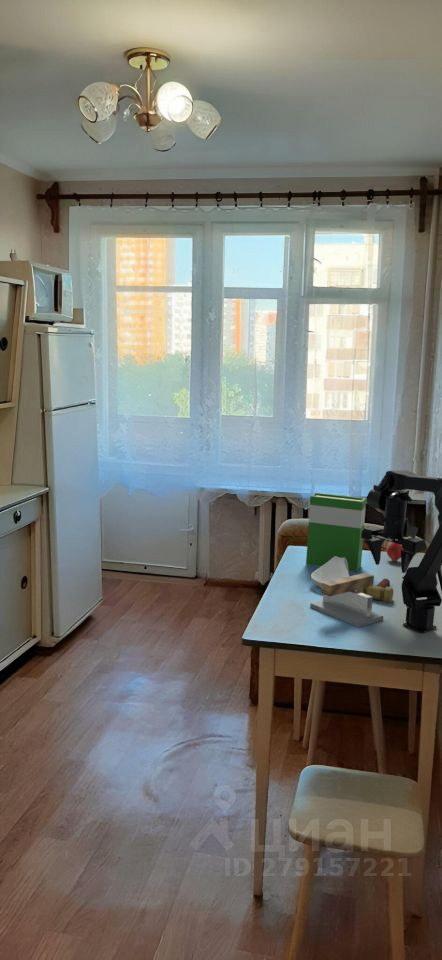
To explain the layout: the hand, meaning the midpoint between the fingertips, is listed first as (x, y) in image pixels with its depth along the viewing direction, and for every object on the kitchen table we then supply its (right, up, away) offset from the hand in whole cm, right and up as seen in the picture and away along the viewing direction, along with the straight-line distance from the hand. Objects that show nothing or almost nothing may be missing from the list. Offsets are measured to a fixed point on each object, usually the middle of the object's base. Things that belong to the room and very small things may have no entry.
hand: (390, 568), depth 201 cm
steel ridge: (-13, -11, -3) cm, 17 cm away
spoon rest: (-12, -8, +25) cm, 29 cm away
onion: (+14, -4, +52) cm, 54 cm away
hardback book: (-9, -5, +44) cm, 46 cm away
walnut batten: (-13, -5, -4) cm, 14 cm away
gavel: (+1, -10, +18) cm, 21 cm away
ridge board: (-13, -12, -3) cm, 18 cm away
